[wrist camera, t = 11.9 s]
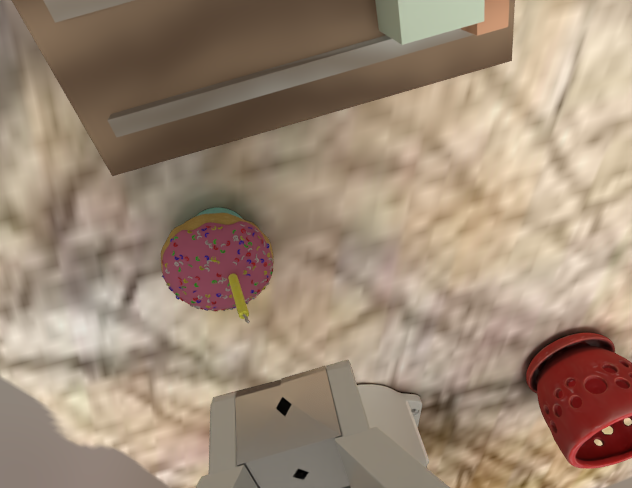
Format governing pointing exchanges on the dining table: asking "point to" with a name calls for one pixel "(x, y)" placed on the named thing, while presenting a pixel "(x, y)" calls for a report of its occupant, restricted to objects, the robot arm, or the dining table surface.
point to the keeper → (426, 17)
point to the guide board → (235, 66)
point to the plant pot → (585, 398)
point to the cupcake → (217, 261)
